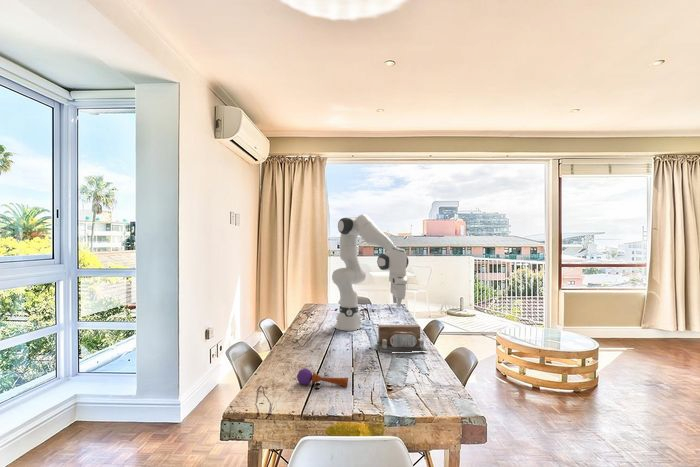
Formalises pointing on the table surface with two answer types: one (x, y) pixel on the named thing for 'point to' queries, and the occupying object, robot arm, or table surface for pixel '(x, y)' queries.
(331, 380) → the kendama
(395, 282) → the robot arm
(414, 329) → the cabinet
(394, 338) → the tin
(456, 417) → the table surface
